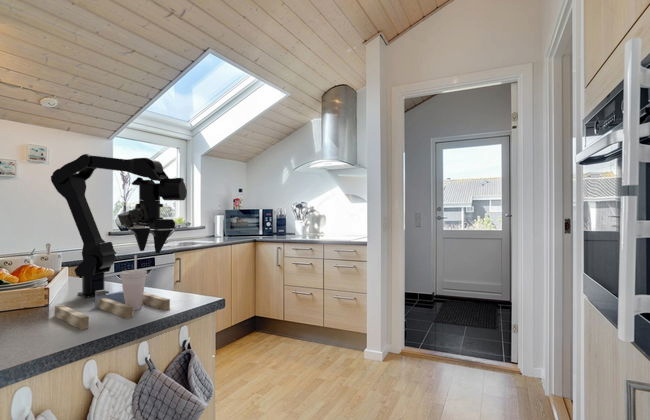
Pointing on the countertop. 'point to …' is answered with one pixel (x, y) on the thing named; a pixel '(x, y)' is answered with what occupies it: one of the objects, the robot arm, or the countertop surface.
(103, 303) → the divider rack
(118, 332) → the countertop surface
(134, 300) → the smoothie
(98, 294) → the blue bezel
